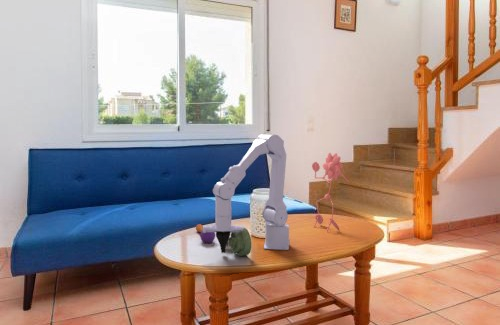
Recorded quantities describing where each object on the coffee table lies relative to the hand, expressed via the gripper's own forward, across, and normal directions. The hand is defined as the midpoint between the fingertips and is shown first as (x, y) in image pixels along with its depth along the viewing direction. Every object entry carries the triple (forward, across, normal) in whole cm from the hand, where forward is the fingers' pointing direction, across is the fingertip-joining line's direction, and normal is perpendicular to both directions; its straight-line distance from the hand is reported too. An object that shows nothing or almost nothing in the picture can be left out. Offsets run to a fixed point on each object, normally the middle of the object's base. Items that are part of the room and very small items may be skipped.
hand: (223, 251), depth 137 cm
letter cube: (+2, -1, -10) cm, 10 cm away
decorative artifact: (+2, -5, 0) cm, 5 cm away
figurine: (+2, -47, -40) cm, 61 cm away
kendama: (+2, +10, -22) cm, 24 cm away
